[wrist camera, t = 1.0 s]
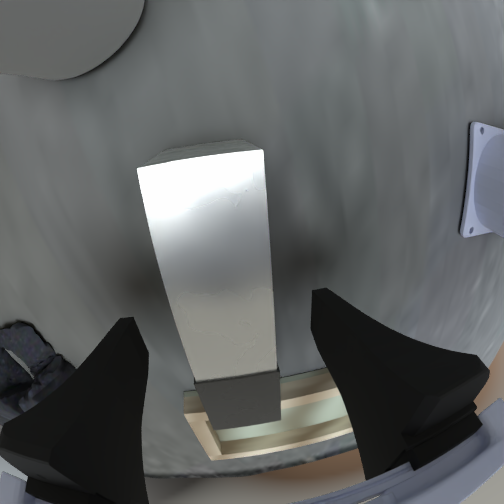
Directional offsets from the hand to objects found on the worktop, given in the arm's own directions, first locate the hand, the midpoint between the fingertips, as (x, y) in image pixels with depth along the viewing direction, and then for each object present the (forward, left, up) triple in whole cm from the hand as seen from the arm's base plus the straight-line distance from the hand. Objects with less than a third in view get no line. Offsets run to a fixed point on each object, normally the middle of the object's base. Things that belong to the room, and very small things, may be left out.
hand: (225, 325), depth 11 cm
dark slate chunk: (+22, +10, -5) cm, 25 cm away
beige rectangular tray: (-5, +14, -4) cm, 15 cm away
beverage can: (+5, -14, -4) cm, 15 cm away
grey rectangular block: (0, 0, -4) cm, 4 cm away
